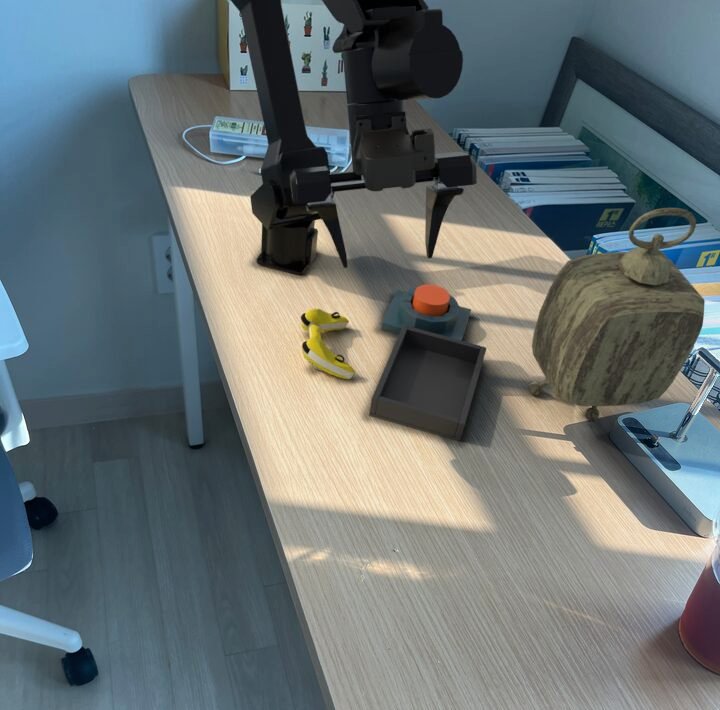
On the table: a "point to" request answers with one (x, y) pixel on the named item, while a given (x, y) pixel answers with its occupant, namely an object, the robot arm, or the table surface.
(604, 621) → the table surface
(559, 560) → the table surface
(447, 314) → the dock switch
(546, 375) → the tabletop clock
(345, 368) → the yellow curved piece
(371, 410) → the tray
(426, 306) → the button
